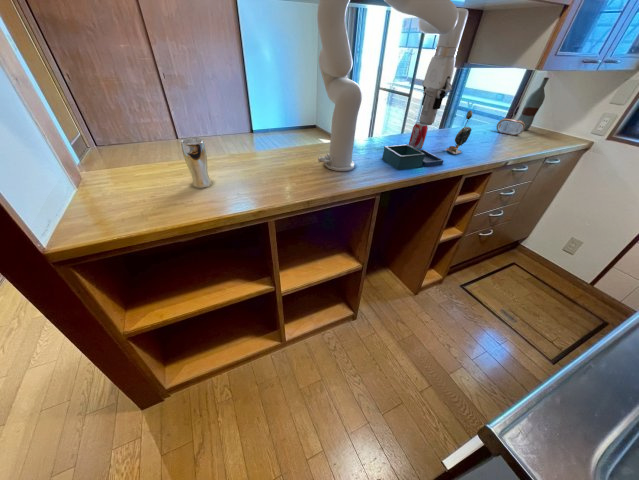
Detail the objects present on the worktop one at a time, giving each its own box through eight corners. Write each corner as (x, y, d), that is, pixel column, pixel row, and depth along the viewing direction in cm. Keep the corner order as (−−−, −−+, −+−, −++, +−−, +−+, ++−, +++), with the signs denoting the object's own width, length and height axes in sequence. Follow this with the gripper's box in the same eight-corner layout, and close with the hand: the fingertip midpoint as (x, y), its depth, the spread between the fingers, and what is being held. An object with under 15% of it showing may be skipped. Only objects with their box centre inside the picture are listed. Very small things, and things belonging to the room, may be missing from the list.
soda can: (422, 151, 132) (430, 126, 125) (408, 149, 133) (414, 124, 126) (421, 146, 138) (428, 122, 130) (407, 145, 138) (413, 121, 131)
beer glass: (188, 183, 93) (176, 140, 83) (207, 178, 97) (197, 136, 87) (197, 190, 89) (185, 146, 80) (216, 184, 93) (207, 141, 83)
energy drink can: (435, 126, 109) (447, 84, 99) (420, 125, 109) (432, 83, 99) (430, 122, 113) (442, 82, 104) (416, 121, 113) (427, 81, 104)
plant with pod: (468, 153, 134) (486, 110, 121) (452, 155, 130) (468, 111, 117) (456, 147, 139) (471, 106, 127) (440, 149, 135) (454, 107, 123)
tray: (424, 166, 116) (426, 162, 115) (405, 155, 126) (406, 151, 125) (442, 164, 119) (443, 160, 118) (422, 153, 130) (423, 149, 128)
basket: (397, 170, 112) (401, 156, 108) (381, 158, 121) (384, 146, 118) (421, 167, 116) (425, 154, 112) (404, 156, 125) (407, 144, 122)
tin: (520, 135, 165) (527, 121, 160) (520, 137, 163) (527, 122, 158) (494, 131, 171) (500, 117, 166) (493, 132, 169) (500, 118, 163)
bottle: (515, 126, 184) (539, 76, 165) (529, 129, 179) (556, 78, 161) (511, 128, 178) (536, 77, 160) (526, 131, 174) (554, 79, 155)
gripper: (421, 51, 101) (409, 102, 112) (454, 55, 88) (437, 112, 100) (437, 51, 103) (424, 102, 114) (471, 55, 91) (452, 111, 102)
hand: (430, 106), depth 107 cm, fingers closed on energy drink can, 6 cm apart
